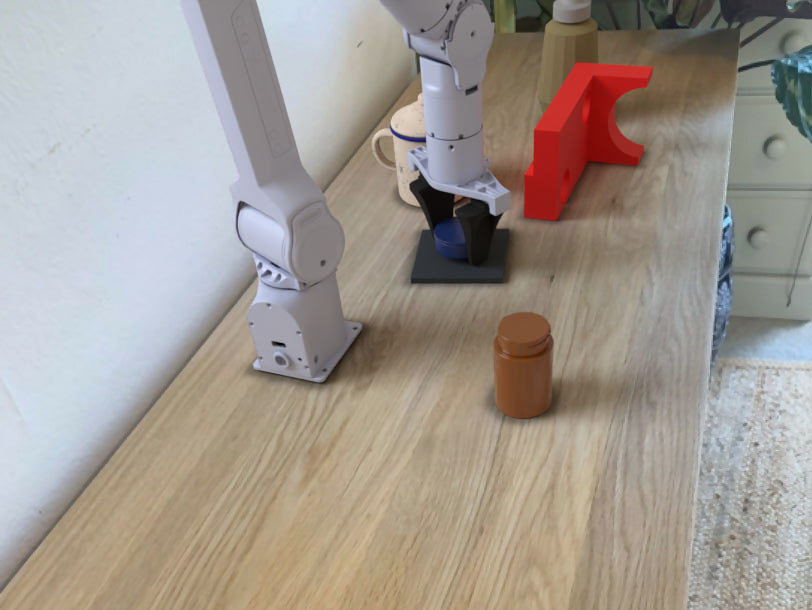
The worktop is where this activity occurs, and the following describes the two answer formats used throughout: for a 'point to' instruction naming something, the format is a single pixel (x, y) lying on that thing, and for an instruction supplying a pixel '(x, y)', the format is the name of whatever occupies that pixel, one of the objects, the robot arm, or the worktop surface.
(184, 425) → the worktop surface
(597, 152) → the bracket
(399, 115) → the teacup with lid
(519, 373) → the jar
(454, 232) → the jar lid
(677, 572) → the worktop surface
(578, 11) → the squeeze bottle
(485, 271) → the coaster
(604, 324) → the worktop surface
